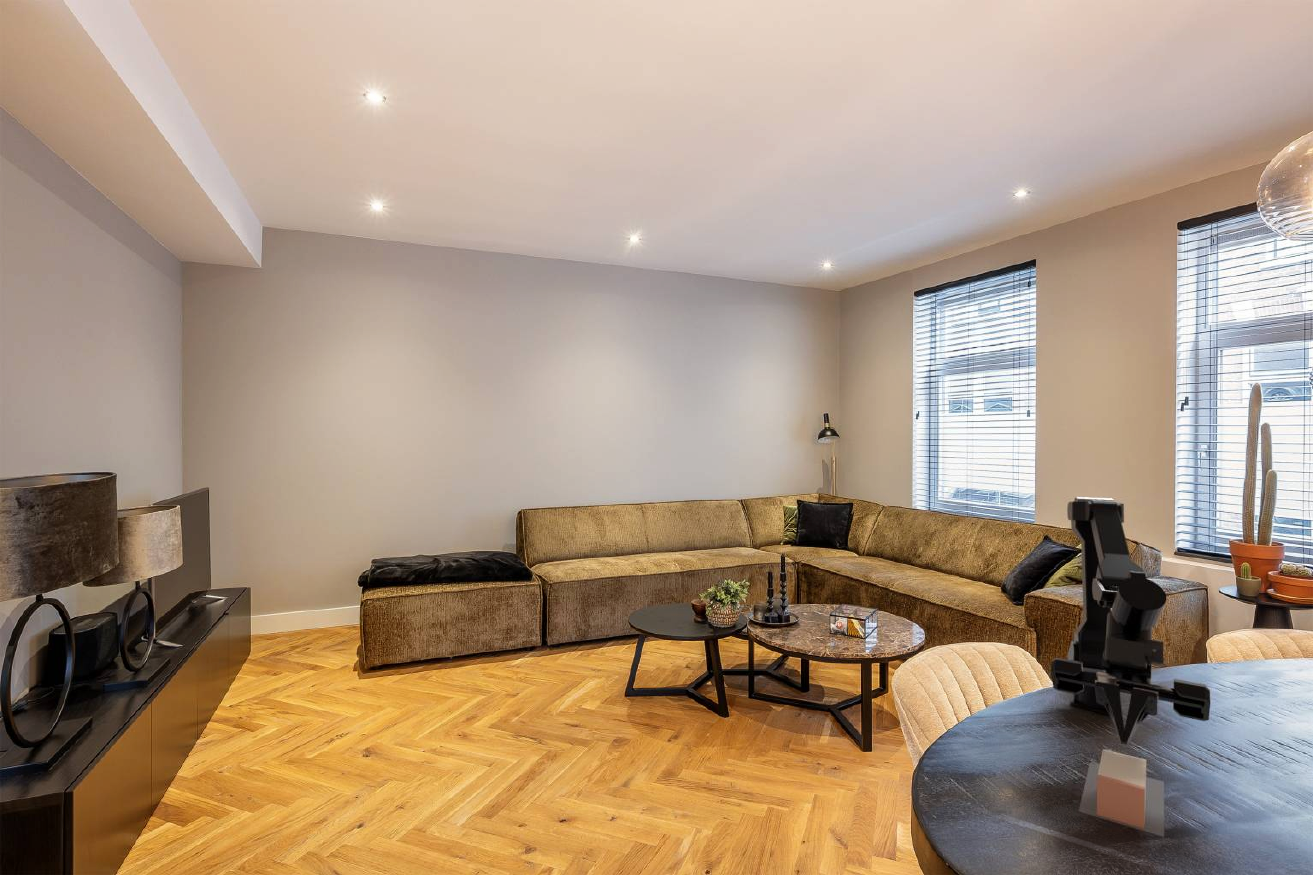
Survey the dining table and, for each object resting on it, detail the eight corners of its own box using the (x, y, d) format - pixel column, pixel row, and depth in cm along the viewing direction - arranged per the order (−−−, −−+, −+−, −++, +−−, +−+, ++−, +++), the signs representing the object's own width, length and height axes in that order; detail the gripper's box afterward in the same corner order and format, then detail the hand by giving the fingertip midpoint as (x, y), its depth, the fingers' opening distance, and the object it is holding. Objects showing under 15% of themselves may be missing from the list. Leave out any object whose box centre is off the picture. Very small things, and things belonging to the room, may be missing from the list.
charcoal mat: (1089, 765, 101) (1089, 762, 101) (1164, 785, 95) (1164, 781, 95) (1078, 814, 87) (1078, 810, 87) (1164, 840, 82) (1164, 836, 82)
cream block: (1102, 748, 94) (1097, 776, 86) (1146, 759, 91) (1144, 789, 83) (1102, 783, 94) (1096, 814, 86) (1145, 795, 91) (1144, 828, 83)
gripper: (1052, 604, 102) (1041, 697, 93) (1210, 627, 90) (1214, 735, 82) (1058, 643, 108) (1048, 734, 99) (1206, 669, 97) (1210, 773, 88)
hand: (1123, 742), depth 92 cm, fingers closed
